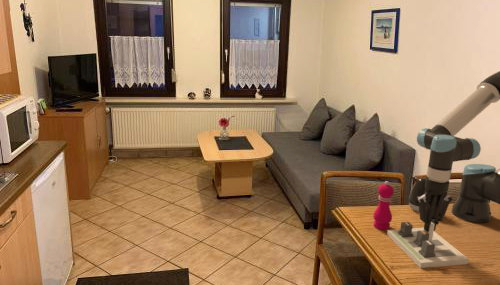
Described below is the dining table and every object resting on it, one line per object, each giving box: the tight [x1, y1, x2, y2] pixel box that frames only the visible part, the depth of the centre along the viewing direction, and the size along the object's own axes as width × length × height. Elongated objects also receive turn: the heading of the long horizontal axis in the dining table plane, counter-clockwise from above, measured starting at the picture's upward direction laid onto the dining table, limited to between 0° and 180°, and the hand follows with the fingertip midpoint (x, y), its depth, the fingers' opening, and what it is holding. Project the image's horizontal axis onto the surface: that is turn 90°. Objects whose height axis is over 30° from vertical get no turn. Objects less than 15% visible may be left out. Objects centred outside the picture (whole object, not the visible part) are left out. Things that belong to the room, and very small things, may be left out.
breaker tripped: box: [414, 230, 429, 246], centre depth 145 cm, size 4×3×5 cm
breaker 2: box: [419, 240, 436, 257], centre depth 138 cm, size 4×3×5 cm
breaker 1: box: [398, 221, 414, 237], centre depth 152 cm, size 4×3×5 cm
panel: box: [386, 227, 469, 269], centre depth 147 cm, size 18×23×2 cm
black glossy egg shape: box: [407, 176, 427, 213], centre depth 177 cm, size 10×10×15 cm
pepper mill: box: [372, 180, 395, 231], centre depth 160 cm, size 7×7×20 cm
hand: (427, 238), depth 146 cm, fingers closed
